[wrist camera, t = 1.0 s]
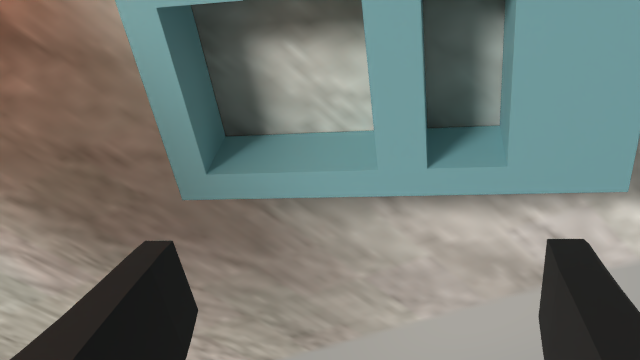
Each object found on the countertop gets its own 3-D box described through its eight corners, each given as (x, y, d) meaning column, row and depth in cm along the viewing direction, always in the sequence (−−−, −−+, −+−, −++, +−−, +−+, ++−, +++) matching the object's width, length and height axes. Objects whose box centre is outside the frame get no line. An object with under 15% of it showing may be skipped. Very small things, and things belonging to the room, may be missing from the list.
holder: (652, -107, 16) (684, -84, 14) (608, 148, 21) (628, 191, 19) (139, -52, 19) (106, -27, 17) (203, 161, 24) (182, 200, 22)
